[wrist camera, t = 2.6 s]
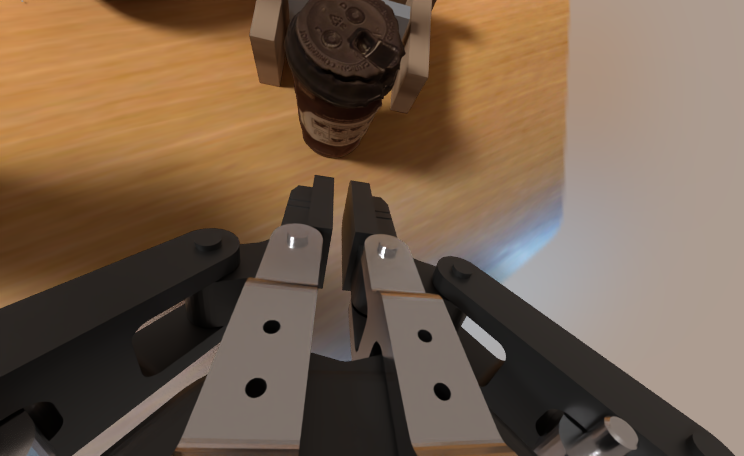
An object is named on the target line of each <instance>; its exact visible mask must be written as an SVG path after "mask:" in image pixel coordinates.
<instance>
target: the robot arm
mask: <svg viewBox="0 0 744 456" xmlns="http://www.w3.org/2000/svg"><path fill="white" fill-rule="evenodd" d="M333 198H334V178H332V177H326V176H319V175H315V177H314V183H313V187H307V186H300V185H299V186H297V187H296V188H294V189H293V190H292V191H291V193H290V197H289V200H288V203H287V207H286V210H285V214H284V217H283V221H282V224H281V226H280V227H278V228H276V229H275V230H274V231H273V233H272V235H271V237H270V239H269V240H266V241H263V242H259V243H250V244H240V243H239V239H238V237H237V236H236V235H234V234H233V233H231V232H229V231H226V230H223V229H216V228H207V229H200V230H195V231H192V232H189V233H187V234H184V235H182V236H180V237H177V238H175V239H172V240H170V241H167V242H165V243H162V244H160V245H157V246H155V247H152V248H150V249H147V250H145V251H142V252H140V253H137V254H135V255H132V256H130V257H127V258H125V259H122V260H120V261H117V262H115V263H112V264H110V265H107V266H105V267H102V268H100V269H97V270H95V271H93V272H90V273H88V274H85V275H83V276H80V277H78V278H75V279H73V280H70V281H68V282H65V283H63V284H60V285H58V286H55V287H53V288H50V289H48V290H45V291H43V292H40V293H38V294H35V295H33V296H30V297H28V298H25V299H23V300H20V301H18V302H15V303H13V304H11V305H8V306H6V307H3V308H1V309H0V456H72V455H73V454H75V453H76V452H77V451H78V450H80V449H81V448H82V447H84V446H85V445H86V444H88V443H89V442H90V441H92V440H93V439H94V438H95V437H97V436H98V435H99V434H101V433H102V432H103V431H105V430H106V429H107V428H109V427H110V426H111V425H112V424H114V423H115V422H116V421H118V420H119V419H120V418H122V417H123V416H124V415H126V414H127V413H128V412H129V411H131V410H132V409H133V408H135V407H136V406H137V405H139V404H140V403H141V402H143V401H144V400H145V399H146V398H148V397H149V396H150V395H152V394H153V393H154V392H156V391H157V390H158V389H159V388H161V387H162V386H163V385H165V384H166V383H167V382H169V381H170V380H171V379H173V378H174V377H175V376H176V375H178V374H179V373H180V372H182V371H183V370H184V369H186V368H187V367H188V366H190V365H191V364H192V363H193V362H195V361H196V360H197V359H199V358H200V357H201V356H203V355H204V354H205V353H207V352H208V351H209V350H210V349H212V348H213V347H214V346H216V345H217V344H218V343H220V342H221V343H220V345H219V348H218V350H217V353H216V355H215V358H214V360H213V363H212V365H211V367H210V370H209V372H208V375H206V376H204V377H202V378H200V379H198V380H196V381H195V382H193V383H192V384H190V385H189V386H187V387H186V388H184V389H183V390H182V391H180V392H179V393H178V394H176V395H175V396H174V397H173V398H171V399H170V400H169V401H168V402H166V403H165V404H164V405H163V406H161V407H160V408H159V409H158V410H156V411H155V412H154V413H153V414H151V415H150V416H149V417H148V418H146V419H145V420H144V421H143V422H141V423H140V424H139V425H138V426H136V427H135V428H134V429H133V430H131V431H130V432H129V433H128V434H126V435H125V436H124V437H123V438H121V439H120V440H119V441H118V442H116V443H115V444H114V445H113V446H111V447H110V448H109V449H108V450H106V451H105V452H104V453H103V454H101V455H100V456H735V455H734V454H733V453H732V452H731V451H730V450H729V449H728V448H727V447H726V446H725V445H724V444H723V443H722V442H720V441H719V440H718V439H717V438H716V437H715V436H713V435H712V434H711V433H709V432H708V431H707V430H705V429H704V428H703V427H701V426H700V425H698V424H697V423H695V422H694V421H693V420H691V419H690V418H689V417H687V416H686V415H684V414H683V413H681V412H680V411H679V410H677V409H676V408H674V407H673V406H672V405H670V404H669V403H667V402H666V401H665V400H663V399H662V398H660V397H659V396H658V395H656V394H655V393H653V392H652V391H651V390H649V389H648V388H646V387H645V386H644V385H642V384H641V383H639V382H638V381H637V380H635V379H634V378H632V377H631V376H629V375H628V374H626V373H625V372H624V371H622V370H621V369H620V368H618V367H617V366H615V365H614V364H613V363H611V362H610V361H608V360H607V359H606V358H604V357H603V356H601V355H600V354H598V353H597V352H596V351H594V350H593V349H592V348H590V347H589V346H587V345H586V344H585V343H583V342H582V341H580V340H579V339H577V338H576V337H575V336H573V335H572V334H570V333H569V332H568V331H566V330H565V329H563V328H562V327H561V326H559V325H558V324H556V323H555V322H553V321H552V320H551V319H549V318H548V317H546V316H545V315H543V314H542V313H541V312H539V311H538V310H537V309H535V308H534V307H532V306H531V305H530V304H528V303H527V302H525V301H524V300H523V299H521V298H520V297H518V296H517V295H516V294H514V293H513V292H511V291H510V290H508V289H507V288H506V287H504V286H503V285H502V284H500V283H499V282H497V281H496V280H495V279H493V278H492V277H490V276H489V275H488V274H486V273H485V272H483V271H482V270H480V269H479V268H478V267H476V266H475V265H473V264H472V263H470V262H468V261H467V260H464V259H461V258H458V257H452V256H448V257H443V258H441V259H440V260H439V261H438V263H437V266H433V265H430V264H427V263H424V262H421V261H418V260H416V259H414V258H413V257H412V254H411V252H410V249H409V247H408V246H407V245H406V244H405V243H404V242H403V241H401V240H400V239H398V238H397V235H396V232H395V228H394V225H393V221H392V218H391V214H390V211H389V207H388V204H387V203H386V202H385V201H384V200H383V199H382V198H380V197H374V196H372V194H371V189H370V184H369V183H364V182H357V181H350V183H349V188H348V193H347V198H346V204H345V209H344V214H343V220H342V290H346V291H351V300H350V304H349V308H348V313H349V327H350V342H351V356H352V361H348V362H343V361H339V360H335V359H332V358H328V357H325V356H321V355H318V354H314V353H311V352H310V351H311V343H312V334H313V326H314V317H315V309H316V300H317V291H318V288H323V282H324V277H325V271H326V265H327V259H328V253H329V247H330V241H331V236H332V230H333ZM184 299H185V304H184V305H182V306H180V307H179V308H177V309H175V310H173V311H172V312H170V313H168V314H167V315H165V316H163V317H162V318H160V319H158V320H156V321H155V322H153V323H151V324H150V325H148V326H146V327H145V328H143V329H141V330H140V331H138V332H136V331H137V330H138V328H139V327H140V326H141V325H143V324H144V323H145V322H147V321H148V320H150V319H152V318H153V317H155V316H157V315H158V314H160V313H162V312H164V311H165V310H167V309H169V308H171V307H172V306H174V305H176V304H178V303H179V302H181V301H183V300H184ZM466 316H468V317H469V318H470V319H472V320H473V321H474V322H475V323H476V324H478V325H479V326H480V327H481V328H482V329H484V330H485V331H486V332H487V333H488V334H489V335H491V336H492V337H493V338H494V339H495V340H497V341H498V342H499V343H500V344H501V345H502V347H503V348H504V350H505V353H506V360H505V361H502V360H500V359H498V358H496V357H495V356H494V355H493V354H492V353H490V352H489V351H488V350H487V349H486V348H485V347H484V346H482V345H481V344H480V343H479V342H478V341H477V340H476V339H474V338H473V337H472V336H471V335H470V334H469V333H468V332H467V331H465V330H464V329H463V328H462V327H461V325H462V323H463V321H464V320H465V318H466ZM135 332H136V333H135Z"/></svg>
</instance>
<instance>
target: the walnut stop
mask: <svg viewBox="0 0 744 456" xmlns="http://www.w3.org/2000/svg"><path fill="white" fill-rule="evenodd" d="M389 1H392V2H396V3H400V4H403V5H407V6H410V7H411V8H410V20H409V22H408V25H407V28H406V30H405V33H404V35H403V38H402V40H401V41H402V43H403V47H404V48H405V53H406V54H405V55H404V56H403V57H402V59H401V62H400V70H398V73H397V77H396V80H395V84H394V86H393V88H392V95H391V108H390V110H394V111H398V112H403V113H408V111H409V110H410V108H411V106H412V104H413V103H414V101H415V99H416V98H417V96H418V94H419V92H420V91H421V89H422V87H423V86H424V84H425V82H426V80H427V79H428V70H429V49H430V28H431V11H432V9H433V7H434V4H435V2H436V0H389ZM289 23H290V20H289V3H288V0H256V5H255V10H254V15H253V20H252V25H251V29H250V34H249V36H250V41H251V45H252V50H253V54H254V59H255V63H256V68H257V73H258V77H259V82H260V83H264V84H269V85H274V86H279V87H280V82H281V76H282V71H283V65H284V59H285V53H286V51H285V48H284V41H285V37H286V35H287V29H288V25H289Z"/></svg>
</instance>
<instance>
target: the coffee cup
mask: <svg viewBox="0 0 744 456" xmlns="http://www.w3.org/2000/svg"><path fill="white" fill-rule="evenodd" d="M400 37H401V36H400V34H399V24H398V20H397V19H396V18H395V15H394V11H393V9H392V8H391V7H390V6H389V5H387V4H385V2H384V1H382V0H309V1H308V2H307V3H306V4H305V6H304V7H303V8H302V10H301V11H300V12H298V13H297V14H296V15H295V16H294V17H293V18H292V20H291V22H290V23H289V25H288V29H287V35H286V37H285V41H284V48H285V51H286V57H287V61H288V64H289V67H290V69H291V71H292V76H293V79H294V87H295V93H296V99H297V106H298V115H299V120H300V125H301V128H302V133H303V138H304V141H305V142H306V144H307V145H308V146H309V147H310V148H311V149H312V150H313V151H314V152H316V153H317V154H319V155H322V156H326V157H334V158H337V157H342V156H345V155H347V154H349V153H350V152H352V151H353V150H354V149H355V148H356V147H357V146H358V145H359V144H360V140H361V137H362V136H363V135H365V133H366V132H367V130H368V127H369V124H370V122H371V121H372V120H373V118H374V115H375V113H376V112H377V111H378V110H379V109H380V107H381V106H382V100H381V99H384V96H385V95H387V94H388V93H389V92H390V91H391V90H392V88H393V86H394V84H395V80H396V77H397V73H398V70H400V62H401V59H402V57H403V56H404V55H405V54H406V53H405V48H404V47H403V43H402V41H401V38H400Z"/></svg>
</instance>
